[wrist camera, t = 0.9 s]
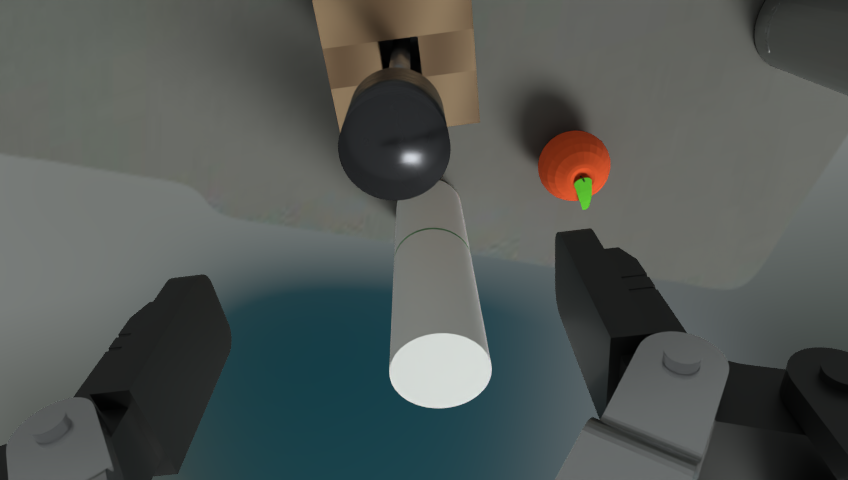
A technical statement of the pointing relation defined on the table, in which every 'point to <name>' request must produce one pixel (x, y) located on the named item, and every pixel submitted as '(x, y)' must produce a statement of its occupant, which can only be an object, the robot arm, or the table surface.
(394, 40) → the plunger
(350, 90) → the box
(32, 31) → the table surface
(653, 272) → the table surface
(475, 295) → the cylindrical container
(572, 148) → the clementine
